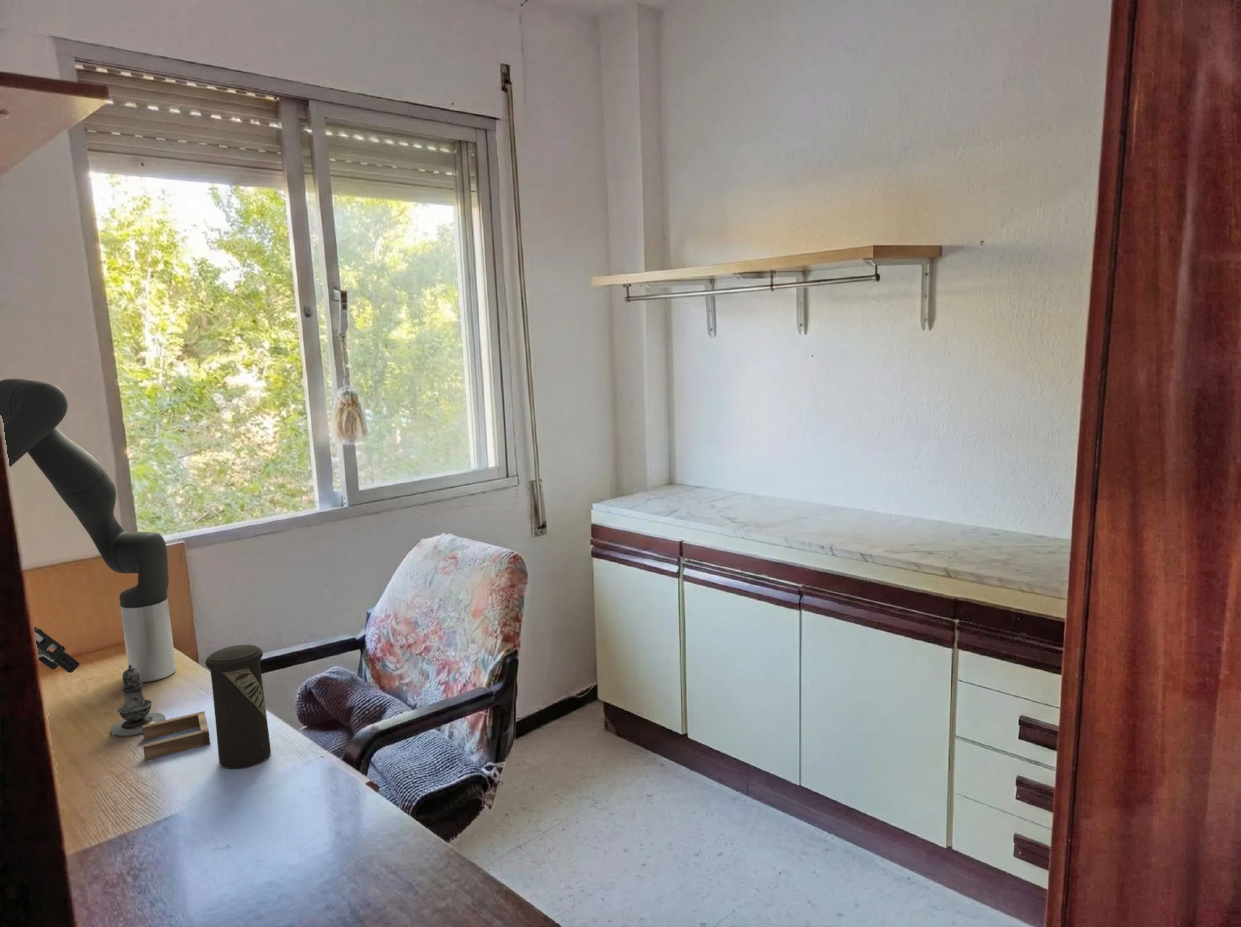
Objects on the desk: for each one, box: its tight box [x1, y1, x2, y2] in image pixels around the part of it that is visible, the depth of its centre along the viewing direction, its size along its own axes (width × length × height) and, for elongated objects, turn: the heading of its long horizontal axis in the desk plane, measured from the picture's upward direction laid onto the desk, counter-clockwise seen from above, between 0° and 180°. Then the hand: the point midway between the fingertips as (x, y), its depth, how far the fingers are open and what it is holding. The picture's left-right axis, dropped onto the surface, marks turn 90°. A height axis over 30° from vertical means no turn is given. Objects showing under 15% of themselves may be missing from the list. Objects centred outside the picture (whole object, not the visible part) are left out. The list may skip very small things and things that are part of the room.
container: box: [204, 644, 272, 769], centre depth 139 cm, size 9×9×20 cm
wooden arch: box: [142, 710, 211, 761], centre depth 148 cm, size 10×10×2 cm
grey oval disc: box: [110, 712, 166, 737], centre depth 155 cm, size 9×9×1 cm
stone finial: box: [116, 665, 153, 729], centre depth 154 cm, size 6×6×12 cm
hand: (66, 667), depth 148 cm, fingers open, 8 cm apart
